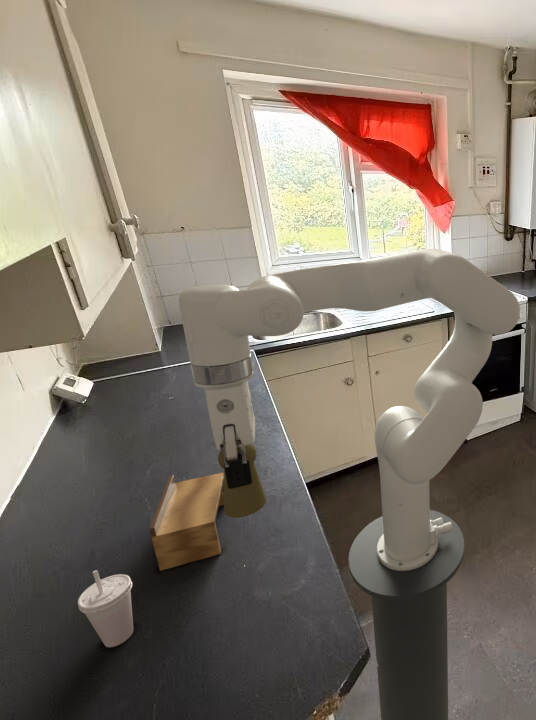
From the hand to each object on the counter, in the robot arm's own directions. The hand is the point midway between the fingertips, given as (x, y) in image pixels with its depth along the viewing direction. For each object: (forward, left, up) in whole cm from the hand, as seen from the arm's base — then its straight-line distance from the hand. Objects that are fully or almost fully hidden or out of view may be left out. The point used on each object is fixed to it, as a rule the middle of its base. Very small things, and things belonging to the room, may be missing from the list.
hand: (241, 473), depth 67 cm
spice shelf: (+13, -26, -27) cm, 40 cm away
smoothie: (+21, -4, -28) cm, 35 cm away
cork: (0, 0, -6) cm, 6 cm away
